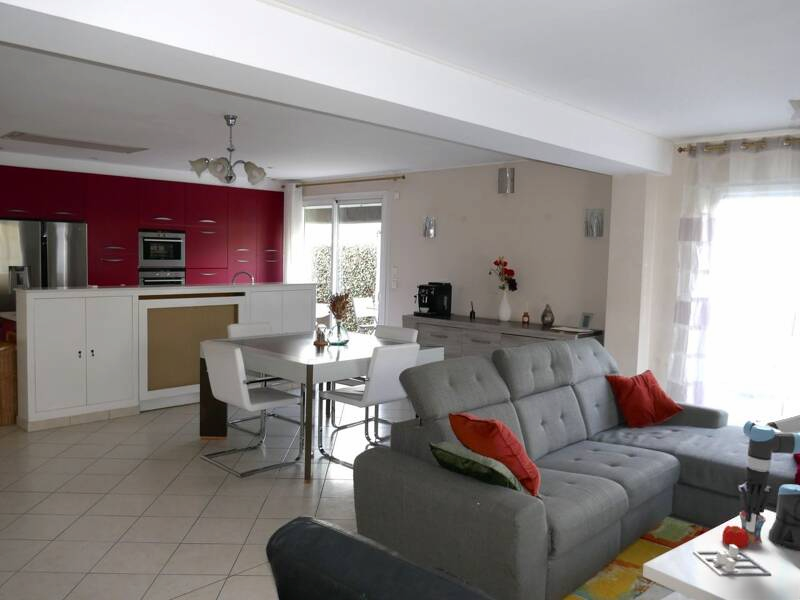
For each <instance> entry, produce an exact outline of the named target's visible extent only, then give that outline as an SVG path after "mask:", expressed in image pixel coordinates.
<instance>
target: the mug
mask: <svg viewBox="0 0 800 600" xmlns="http://www.w3.org/2000/svg"><path fill="white" fill-rule="evenodd" d="M738 514H739V517H740V522H741V527H740V528H741V529H744V530H745V531H746V532H747V534H748V537H749V542H748V543H753V544H760V543H761V544H762V543H763V540H762V537H761V533H762V529H763V526H764V523H765V522H766V521H767V519H766V517H765V516H764V515H762V514H760V515H758V518H757V522H755V529H754V532H750V531H749V530H747V529H746V522H747V521H746V520H745V517H746V512H745V511H743V510H741V511H740V512H739V513H738Z"/></svg>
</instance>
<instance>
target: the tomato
mask: <svg viewBox="0 0 800 600" xmlns="http://www.w3.org/2000/svg"><path fill="white" fill-rule="evenodd" d="M741 528H742V527H739V526H737V525H732V526H731V525H727V526H725V528H723V529H724V530H723V531H722V541H723V543H724V544H725V545H727V546H728V547H729V544H730V545H735V546H737V547H738V549H745V548H746V547H747V546H748V545H749V543H750V542H749V537H748V534H747V532H746V531H745V530H744V529H741Z"/></svg>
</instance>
